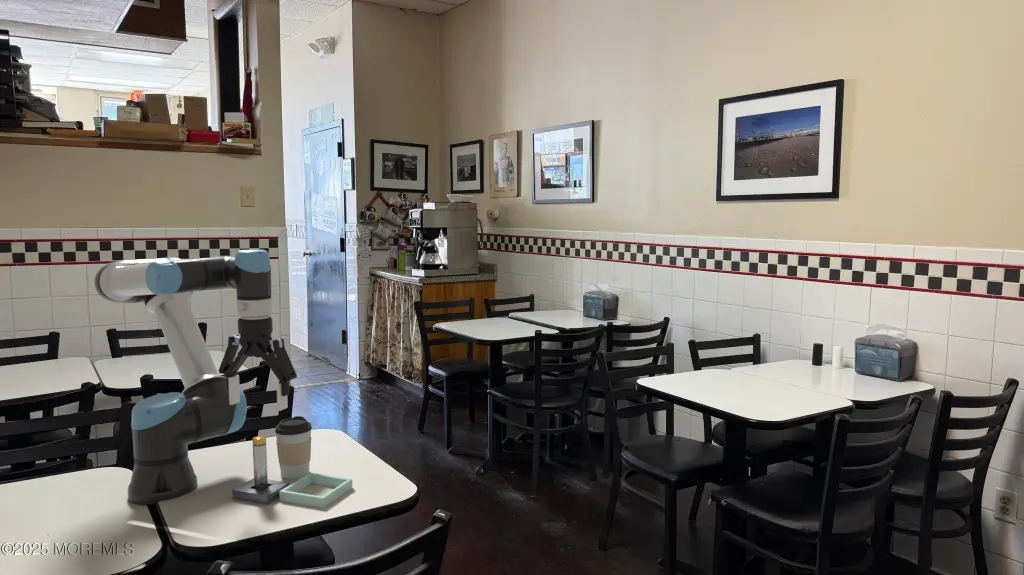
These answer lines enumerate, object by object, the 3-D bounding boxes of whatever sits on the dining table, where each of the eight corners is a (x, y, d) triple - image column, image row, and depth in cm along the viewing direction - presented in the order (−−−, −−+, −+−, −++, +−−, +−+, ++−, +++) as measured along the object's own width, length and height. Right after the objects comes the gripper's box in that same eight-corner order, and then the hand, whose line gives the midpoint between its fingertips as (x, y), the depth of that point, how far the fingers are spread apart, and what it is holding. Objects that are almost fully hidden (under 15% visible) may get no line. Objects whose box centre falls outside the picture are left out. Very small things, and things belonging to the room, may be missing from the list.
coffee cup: (302, 484, 171) (300, 426, 170) (269, 481, 173) (267, 424, 172) (319, 471, 180) (317, 415, 179) (288, 468, 182) (286, 413, 180)
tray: (279, 503, 160) (279, 491, 160) (311, 484, 172) (310, 472, 171) (323, 511, 156) (323, 498, 156) (352, 490, 168) (352, 479, 167)
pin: (252, 496, 162) (249, 439, 161) (260, 491, 165) (258, 435, 163) (262, 498, 161) (260, 440, 160) (270, 493, 164) (268, 436, 162)
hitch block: (232, 502, 161) (232, 489, 161) (256, 489, 169) (255, 477, 168) (267, 508, 158) (267, 495, 158) (289, 494, 165) (289, 482, 165)
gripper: (199, 316, 159) (204, 405, 161) (290, 322, 151) (293, 416, 153) (223, 311, 166) (226, 396, 168) (310, 317, 158) (313, 407, 160)
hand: (258, 406), depth 161 cm, fingers open, 13 cm apart
